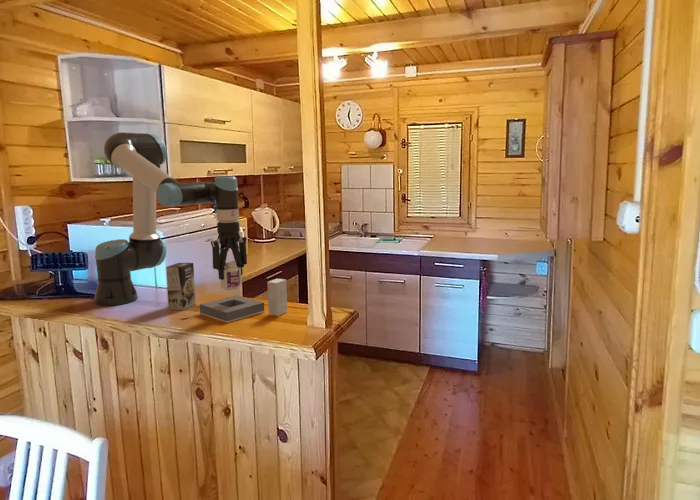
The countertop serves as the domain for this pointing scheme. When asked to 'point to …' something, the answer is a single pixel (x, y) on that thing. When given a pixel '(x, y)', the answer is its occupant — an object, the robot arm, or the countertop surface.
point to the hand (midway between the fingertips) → (231, 286)
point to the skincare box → (277, 297)
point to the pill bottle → (232, 275)
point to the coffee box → (180, 286)
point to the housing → (231, 308)
